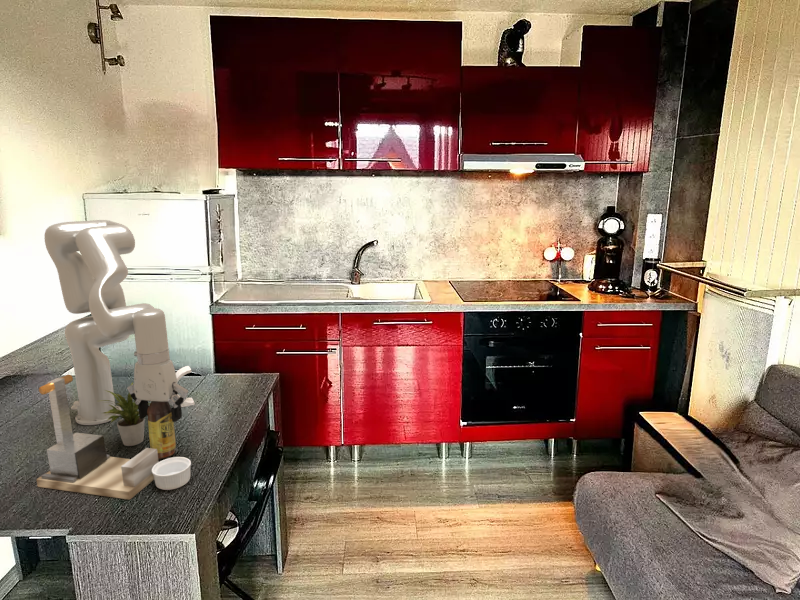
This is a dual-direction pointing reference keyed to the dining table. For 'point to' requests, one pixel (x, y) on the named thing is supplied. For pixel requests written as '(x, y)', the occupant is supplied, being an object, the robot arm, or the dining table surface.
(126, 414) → the house plant
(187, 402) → the white curved arc piece
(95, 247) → the robot arm
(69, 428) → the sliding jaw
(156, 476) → the ramekin
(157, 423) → the sauce bottle
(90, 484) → the clamp base
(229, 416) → the dining table surface
